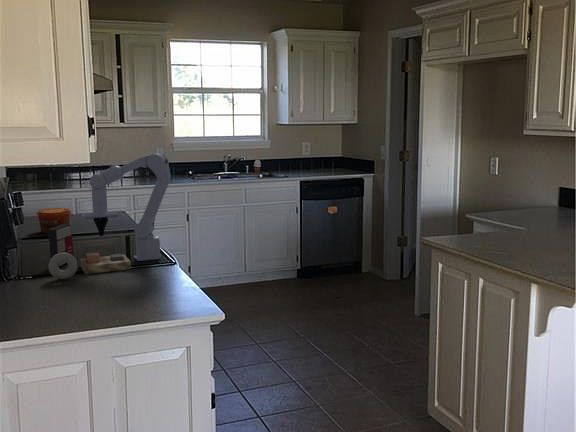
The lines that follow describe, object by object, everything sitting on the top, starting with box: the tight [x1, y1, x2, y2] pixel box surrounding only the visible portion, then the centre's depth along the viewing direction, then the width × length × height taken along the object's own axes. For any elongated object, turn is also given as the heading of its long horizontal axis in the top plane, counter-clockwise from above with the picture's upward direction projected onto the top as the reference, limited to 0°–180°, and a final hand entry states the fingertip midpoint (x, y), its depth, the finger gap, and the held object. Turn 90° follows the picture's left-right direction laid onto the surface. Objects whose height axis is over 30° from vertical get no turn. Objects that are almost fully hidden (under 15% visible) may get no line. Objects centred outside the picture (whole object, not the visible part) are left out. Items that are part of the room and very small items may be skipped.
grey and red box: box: [47, 224, 74, 268], centre depth 240 cm, size 11×4×15 cm, turn 168°
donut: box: [47, 252, 79, 280], centre depth 220 cm, size 10×4×10 cm, turn 112°
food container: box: [36, 207, 72, 235], centre depth 301 cm, size 16×16×11 cm
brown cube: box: [85, 251, 101, 264], centre depth 234 cm, size 4×4×4 cm
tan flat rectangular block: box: [79, 254, 132, 275], centre depth 236 cm, size 17×12×3 cm
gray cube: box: [109, 253, 124, 261], centre depth 238 cm, size 4×4×4 cm
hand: (101, 235), depth 250 cm, fingers closed
